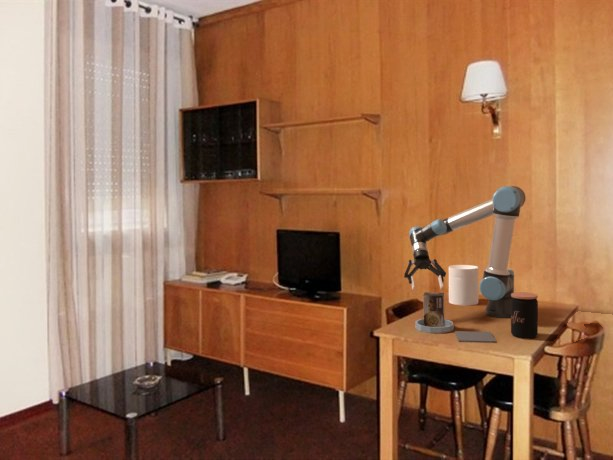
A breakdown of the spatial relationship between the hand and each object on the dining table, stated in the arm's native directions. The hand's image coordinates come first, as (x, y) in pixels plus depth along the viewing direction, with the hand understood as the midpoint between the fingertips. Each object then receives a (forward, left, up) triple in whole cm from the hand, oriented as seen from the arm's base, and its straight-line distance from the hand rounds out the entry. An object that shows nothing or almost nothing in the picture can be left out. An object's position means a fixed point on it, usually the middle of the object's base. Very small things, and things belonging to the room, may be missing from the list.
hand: (427, 288), depth 246 cm
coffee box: (-2, +10, -17) cm, 20 cm away
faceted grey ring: (-2, +10, -17) cm, 20 cm away
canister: (-22, -45, -17) cm, 53 cm away
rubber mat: (-18, +24, -17) cm, 34 cm away
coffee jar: (-39, +20, -17) cm, 47 cm away
